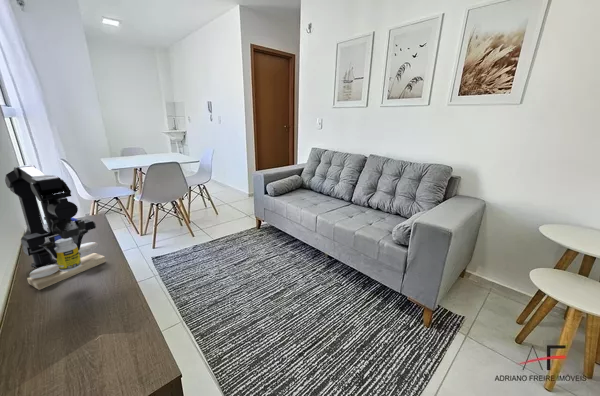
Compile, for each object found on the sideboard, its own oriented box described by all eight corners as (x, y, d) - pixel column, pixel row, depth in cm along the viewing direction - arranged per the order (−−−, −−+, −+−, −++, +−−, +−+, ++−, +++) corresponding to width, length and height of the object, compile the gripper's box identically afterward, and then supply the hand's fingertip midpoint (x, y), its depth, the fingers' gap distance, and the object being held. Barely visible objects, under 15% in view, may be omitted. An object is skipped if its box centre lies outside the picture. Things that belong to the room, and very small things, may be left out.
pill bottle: (68, 273, 88) (60, 244, 85) (54, 271, 90) (46, 243, 87) (86, 264, 94) (79, 237, 91) (73, 262, 95) (65, 235, 92)
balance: (29, 284, 94) (22, 264, 92) (95, 257, 113) (91, 240, 111) (39, 289, 91) (32, 269, 88) (105, 261, 110) (101, 244, 108)
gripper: (29, 226, 75) (44, 272, 79) (99, 209, 91) (108, 247, 95) (13, 220, 79) (28, 264, 84) (83, 204, 95) (92, 242, 100)
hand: (67, 254), depth 90 cm, fingers closed on pill bottle, 6 cm apart
